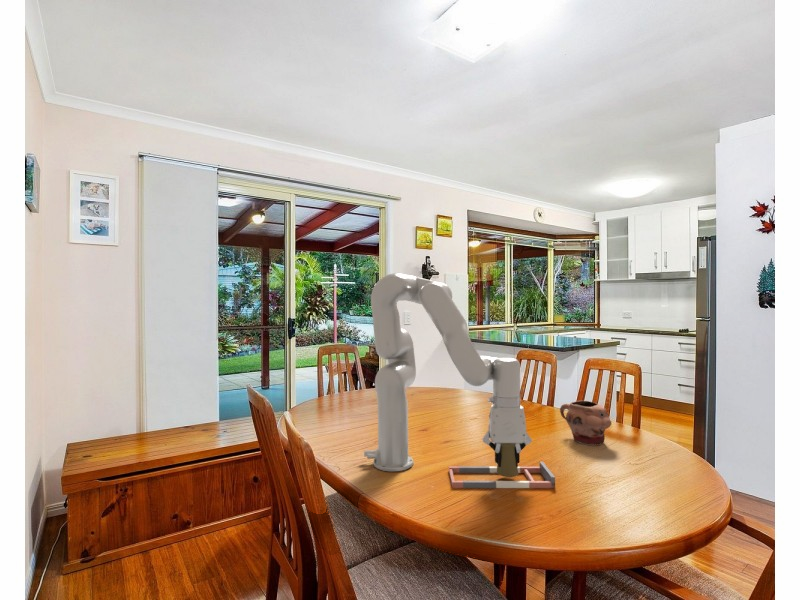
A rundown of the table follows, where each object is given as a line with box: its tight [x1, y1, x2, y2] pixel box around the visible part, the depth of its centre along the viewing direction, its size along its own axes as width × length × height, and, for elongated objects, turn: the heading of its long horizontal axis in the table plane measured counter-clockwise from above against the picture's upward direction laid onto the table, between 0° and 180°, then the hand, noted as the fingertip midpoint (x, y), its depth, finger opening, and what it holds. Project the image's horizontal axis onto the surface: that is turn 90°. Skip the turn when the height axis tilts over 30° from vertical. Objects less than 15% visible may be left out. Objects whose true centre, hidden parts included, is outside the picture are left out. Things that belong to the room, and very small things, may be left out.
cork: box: [496, 443, 519, 478], centre depth 122 cm, size 6×6×11 cm
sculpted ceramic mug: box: [559, 400, 612, 446], centre depth 153 cm, size 20×12×14 cm, turn 38°
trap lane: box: [448, 461, 556, 489], centre depth 122 cm, size 28×11×3 cm, turn 88°
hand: (507, 464), depth 122 cm, fingers closed on cork, 4 cm apart
